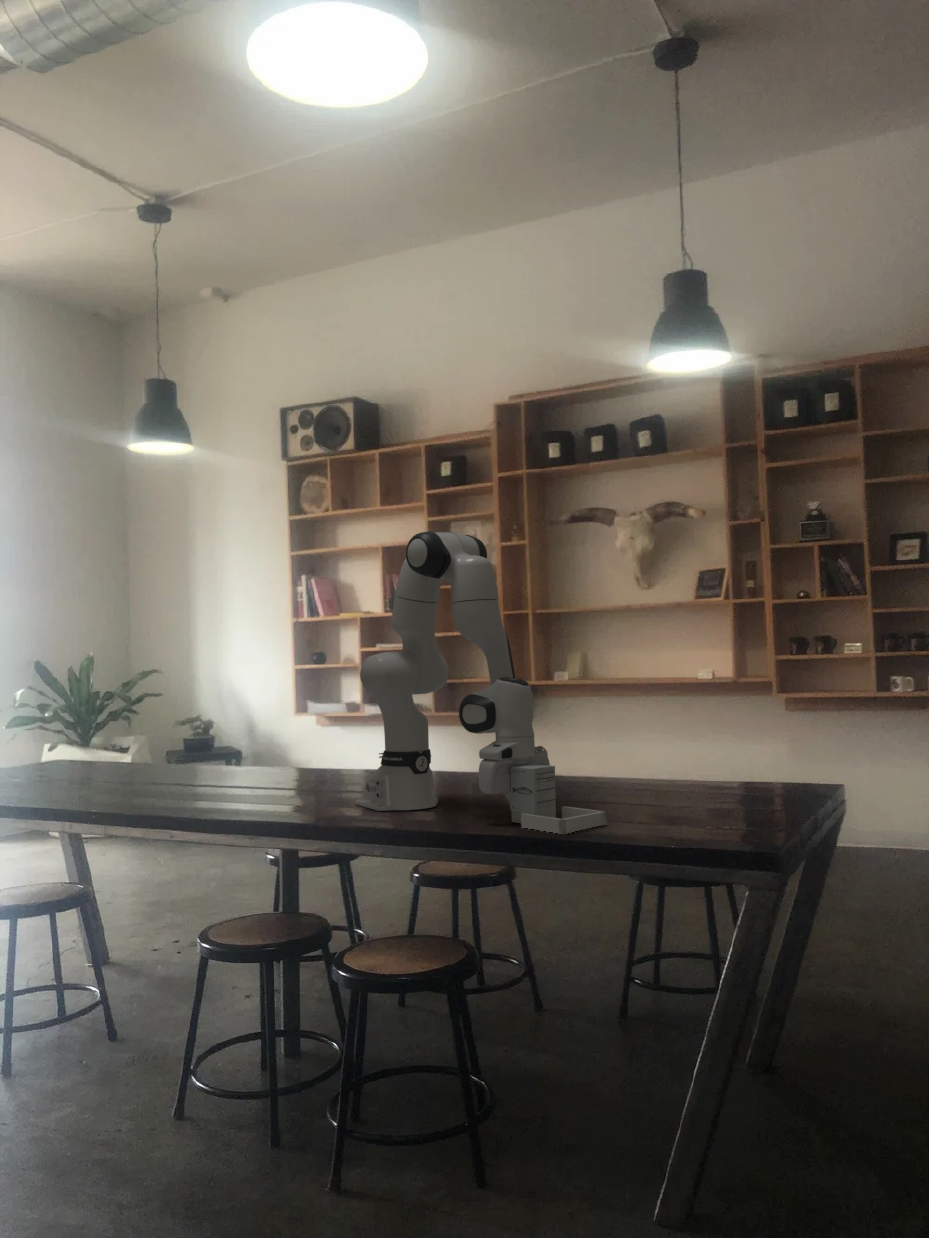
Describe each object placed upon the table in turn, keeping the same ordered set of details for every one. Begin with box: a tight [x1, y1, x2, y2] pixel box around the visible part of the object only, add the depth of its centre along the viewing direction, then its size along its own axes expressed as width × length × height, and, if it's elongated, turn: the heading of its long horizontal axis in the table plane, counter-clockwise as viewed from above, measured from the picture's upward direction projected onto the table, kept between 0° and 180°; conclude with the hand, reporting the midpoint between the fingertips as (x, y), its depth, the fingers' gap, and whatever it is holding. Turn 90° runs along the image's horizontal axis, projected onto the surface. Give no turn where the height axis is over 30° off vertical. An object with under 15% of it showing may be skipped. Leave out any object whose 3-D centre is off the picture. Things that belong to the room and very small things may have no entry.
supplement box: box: [510, 764, 557, 824], centre depth 211 cm, size 7×7×13 cm
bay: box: [520, 805, 608, 836], centre depth 204 cm, size 12×14×3 cm
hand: (517, 809), depth 215 cm, fingers closed
